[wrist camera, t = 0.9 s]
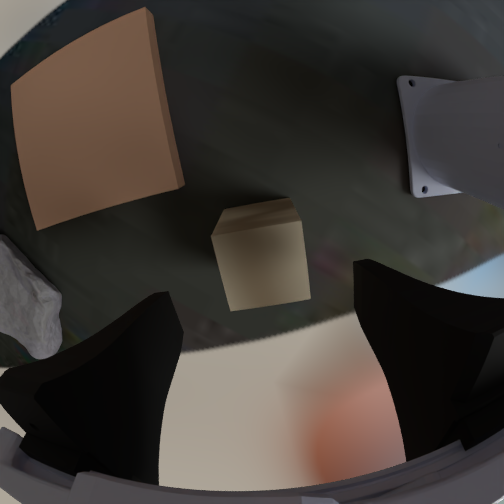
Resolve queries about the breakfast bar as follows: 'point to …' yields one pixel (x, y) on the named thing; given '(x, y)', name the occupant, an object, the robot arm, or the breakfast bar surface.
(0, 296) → the stone block
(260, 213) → the birch block
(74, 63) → the terracotta tile
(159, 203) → the breakfast bar surface
